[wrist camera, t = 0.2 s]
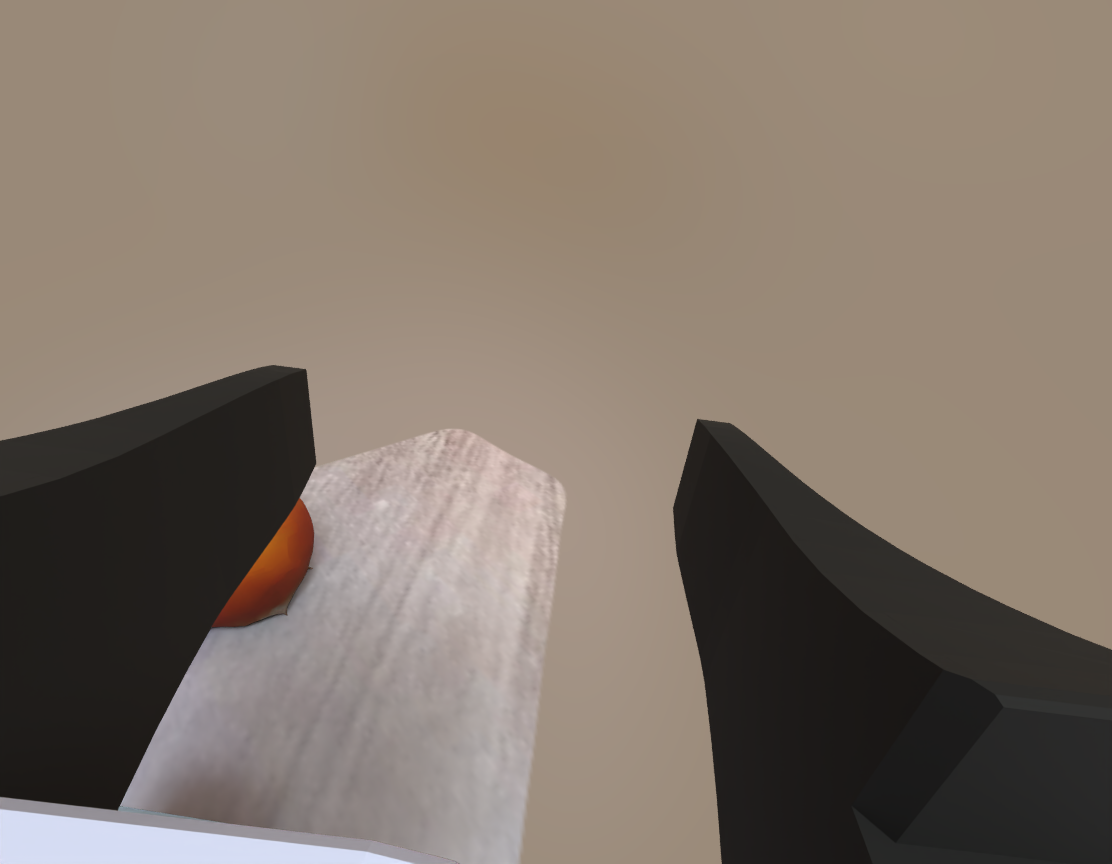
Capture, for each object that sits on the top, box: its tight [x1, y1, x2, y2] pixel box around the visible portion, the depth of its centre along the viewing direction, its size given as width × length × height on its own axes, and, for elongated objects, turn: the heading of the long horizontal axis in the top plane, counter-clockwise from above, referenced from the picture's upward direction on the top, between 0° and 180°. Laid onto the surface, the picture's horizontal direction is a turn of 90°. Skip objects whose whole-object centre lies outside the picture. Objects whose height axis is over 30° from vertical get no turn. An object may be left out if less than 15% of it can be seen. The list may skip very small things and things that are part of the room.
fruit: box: [212, 498, 314, 627], centre depth 32 cm, size 8×8×8 cm
